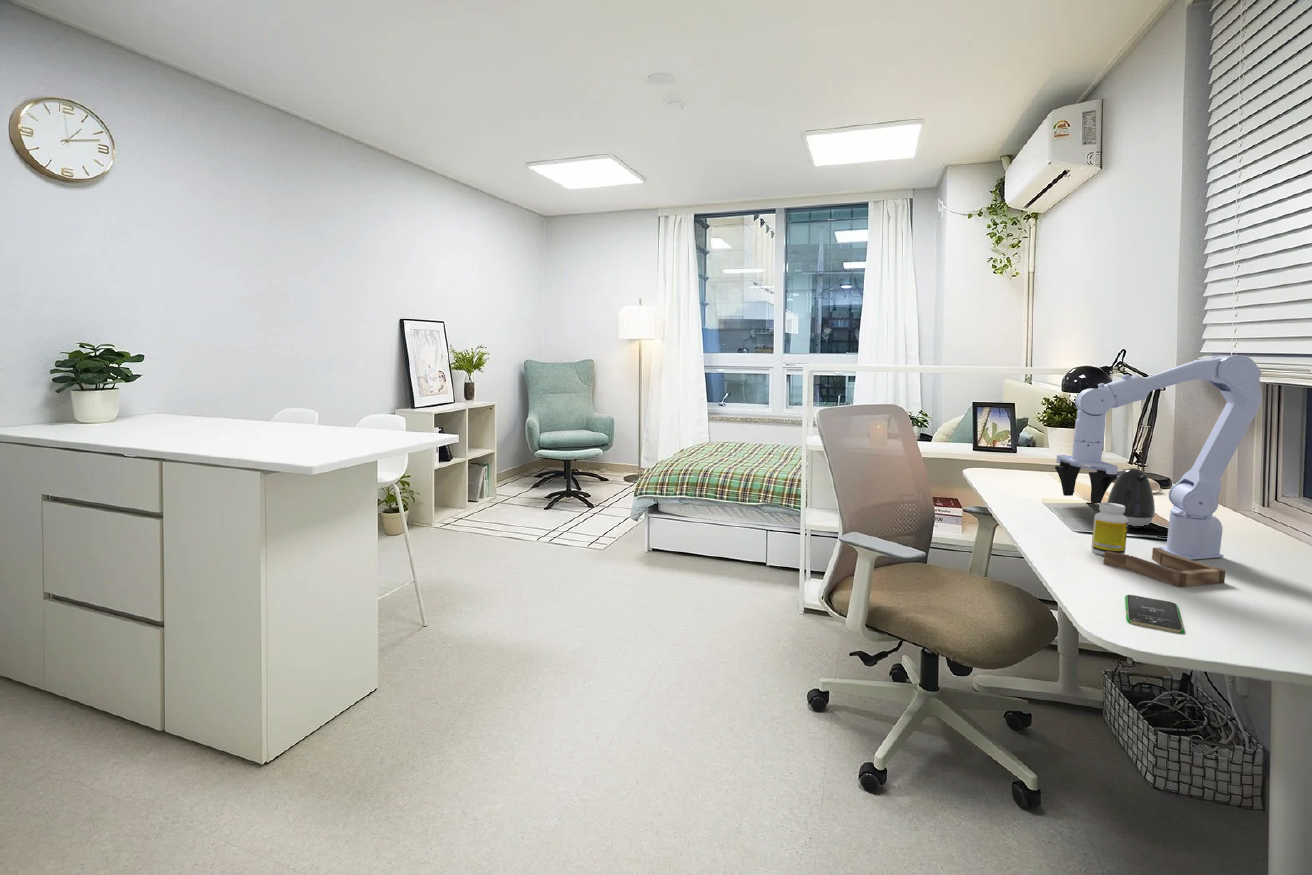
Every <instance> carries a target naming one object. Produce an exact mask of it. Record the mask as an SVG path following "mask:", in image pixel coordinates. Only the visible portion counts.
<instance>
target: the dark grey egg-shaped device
mask: <svg viewBox="0 0 1312 875" xmlns="http://www.w3.org/2000/svg"><path fill="white" fill-rule="evenodd" d="M1109 492H1110V493H1109V495H1108V499H1107V502H1106V503H1115V504H1120V505H1123V506H1125V513H1123V515H1124V516H1126V517H1127V519H1128V525H1132V526H1144V525H1147V526H1148V525H1149V524H1151V522H1152V520H1153V519H1154V517H1155V515H1156V509H1155V508H1156V505H1155V499H1154V498H1155V497H1154V492H1153V489H1152V485H1151V482H1150V479H1149V478H1148V476H1147V474H1146V473H1145V472H1144V471H1143V470H1141V469H1139V468H1135V467H1132V468H1126V469H1125V470H1123V471H1122V472H1121V473H1120V474H1119V475H1118V476H1117V477H1116V479H1115V480H1114V483H1113V486H1112V488H1111V490H1110V491H1109Z"/></svg>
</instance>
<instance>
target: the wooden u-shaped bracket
mask: <svg viewBox="0 0 1312 875" xmlns="http://www.w3.org/2000/svg"><path fill="white" fill-rule="evenodd" d="M1103 558H1104V559H1103V564H1104V565H1107V566H1112V567H1117V568H1123V569H1126V570H1129V571H1132V572H1135V573H1137V574H1141V575H1143V576H1147V577H1149V578H1153V579H1156V580H1159V581H1160V582H1165V583H1167V584H1169V585H1173V586H1175V587H1178V588H1183V587H1194V586H1195V587H1196V586H1204V585H1206V586H1207V585H1216V584H1218V585H1219V584H1225V581H1226V573H1227V572H1226V571H1227V570H1225V569H1222V568H1218V567H1215V566H1212V565H1209V564H1205V563H1202V562H1200V561H1196V560H1194V559H1193V560H1190V559H1186V558H1183V557H1180V556H1176V555H1173V554H1170V553H1168V552H1166V551H1165V550H1163V549H1162V548H1156V547H1152V555H1151V560H1153V561H1154V562H1151V561H1148V560H1146V559H1144V558H1143V559H1142V558H1139V557H1136V556H1134V555H1129V554H1120V553H1115V552H1110V551H1106V552H1105V555H1104V557H1103ZM1155 562H1156V563H1155Z"/></svg>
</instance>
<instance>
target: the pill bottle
mask: <svg viewBox="0 0 1312 875" xmlns="http://www.w3.org/2000/svg"><path fill="white" fill-rule="evenodd" d="M1098 507H1099V512H1097V513H1095V514H1094V517H1093V526H1092V527H1093V528H1092V539H1091V551H1092V552H1093V553H1094V554H1096V555H1100V556H1104V555H1105V552H1106V551H1110V552H1115V553H1120V554H1125V553H1126V545H1127V535H1128V528H1127V527H1128V519H1127V517H1126V516H1124V515H1123V513H1125V506H1123V505H1120V504H1115V503H1107V502H1101V503H1099V506H1098Z"/></svg>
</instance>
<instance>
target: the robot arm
mask: <svg viewBox="0 0 1312 875" xmlns="http://www.w3.org/2000/svg"><path fill="white" fill-rule="evenodd" d="M1262 374H1263V372H1262V371H1261V369H1260V367H1259V365H1257V363H1256V362H1255V361H1254V360H1253V359H1252V358H1250V357H1249V356H1246V355H1244V354H1243V355H1242V354H1236V355H1225V354H1219V355H1214V356H1211V357H1206V358H1200V359H1196V360H1192V361H1189V362H1185V363H1183V364H1181V365H1178V366H1175V367H1173V368H1169V369H1166V370H1163V371H1160V372H1158V373H1155V374H1151V375H1149V376H1147V377H1142V376H1140V375H1138V374H1137V375H1136V374H1133V375H1130V374H1125V375H1121V378H1119V379H1118V380H1114V381H1111V382H1108V383H1104V382H1101V383H1098V384H1097V386H1098V387H1097V388H1086V389H1083V390H1082V391H1081V392H1080V393H1078V394H1077V396H1076V399H1074V405H1075V407H1076V409H1077V413H1076V420H1075V424H1074V431H1073V432H1074V433H1073V443H1072V453H1071V455H1065V454H1057V455H1056V463H1057V465H1055V467H1054V469H1055V470H1056V472H1057V474H1058V477H1059V480H1060V484H1061V488H1062V494H1063V496H1064V497H1066V496H1067V497H1068V496H1070V497H1071V496H1073V495H1074V492H1075V487H1076V481H1077V479H1078V476H1079V473H1080V471H1081V469H1087V470H1090V472H1088V476H1089V480H1090V489H1091V490H1090V503H1091V504H1100V503H1102V501H1103V499H1104V497H1105V495H1106V492H1107V491H1108V488H1109V487H1110V485H1111V484H1112V483H1113V482H1115V481H1116V479H1117V478H1118V475H1117V474H1118V467H1119V465H1115V464H1112V463H1109V462H1106V461H1102V459H1103V458H1102V456H1103V447H1104V438H1105V430H1106V417H1107V413H1108V412H1109V410H1111V409H1117V408H1121V407H1123V406H1126V405H1129V404H1133V403H1136V402H1140V401H1142V400H1145V399H1146V398H1147V397H1148V396H1149V394H1150V392H1152V391H1155V390H1159V389H1163V388H1166V387H1170V386H1174V385H1177V384H1182V383H1185V382H1188V381H1189V382H1190V381H1192V380H1198V381H1201V380H1202V381H1207V382H1209V383H1210V384H1211V385H1212V386H1214V387H1216V388H1217V389H1218V391H1220V393H1221V395H1222V397H1223V398H1224V400H1225V402H1226V403H1225V406H1224V407H1223V409H1222V411H1221V413H1220V414H1219V416H1218V418H1217V421H1216V422H1215V424H1214V426H1213V427H1212V430H1211V432H1210V434H1209V435H1208V438H1207V439H1206V441H1205V442H1204V444H1203V446H1202V448H1201V450H1200V452H1199V454H1198V456H1197V458H1196V460H1195V462H1194V463H1193V465H1192V466H1191V469H1189V470H1188V471H1187V472H1185V473H1184V474H1183V475H1182V477H1181V478H1180V479H1179V481H1177V483H1175V484H1173V485H1172V486H1171V488H1170V489H1169V491H1168V500H1169V501H1170V503H1171V504H1172V505H1173V506H1172V508H1171V509H1170V511H1169V522H1168V528H1167V541H1166V546H1156V547H1155V548H1162V549H1163V550H1165V551H1166V552H1168V553H1170V554H1173V555H1176V556H1180V557H1183V558H1186V559H1190V560H1193V561H1194V560H1205V559H1206V560H1207V559H1216V558H1224V554H1221V546H1222V536H1223V525H1222V522H1221V521H1220V519H1219V518H1217V517H1216V516H1215V515H1213V514H1214V513H1216V511H1217V509H1218V507H1219V495H1220V493H1221V490H1222V482H1221V481H1222V480H1221V479H1222V477H1223V474H1224V473H1225V471H1226V470H1227V468H1228V466H1229V464H1230V461H1232V458H1233V457H1234V454H1235V453H1236V450H1237V449H1238V447H1239V445H1240V443H1241V442H1242V440H1243V438H1244V436H1245V434H1246V433H1247V431H1248V428H1249V427H1250V425H1251V423H1252V421H1253V419H1254V418H1255V417H1256V414H1257V413H1258V410H1259V409H1260V407H1261V405H1262V402H1263V394H1262V386H1261V380H1260V379H1261V375H1262ZM1058 464H1059V465H1058ZM1091 470H1092V471H1093V472H1092V471H1091Z"/></svg>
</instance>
